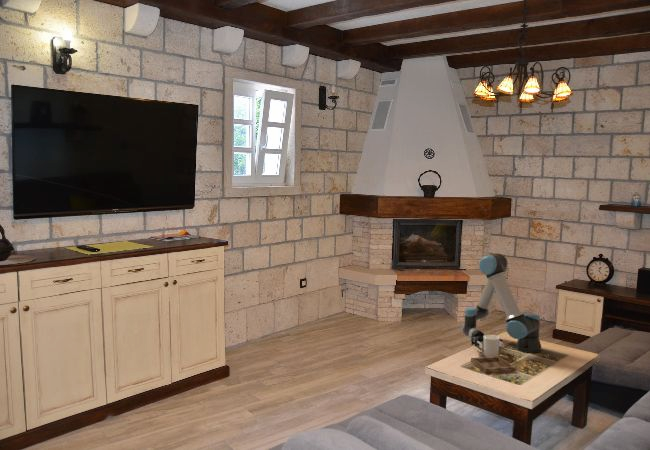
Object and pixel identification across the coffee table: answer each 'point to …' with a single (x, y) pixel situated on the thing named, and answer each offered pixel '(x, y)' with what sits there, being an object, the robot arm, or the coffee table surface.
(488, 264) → the robot arm
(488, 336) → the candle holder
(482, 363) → the walnut tray
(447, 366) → the coffee table surface
